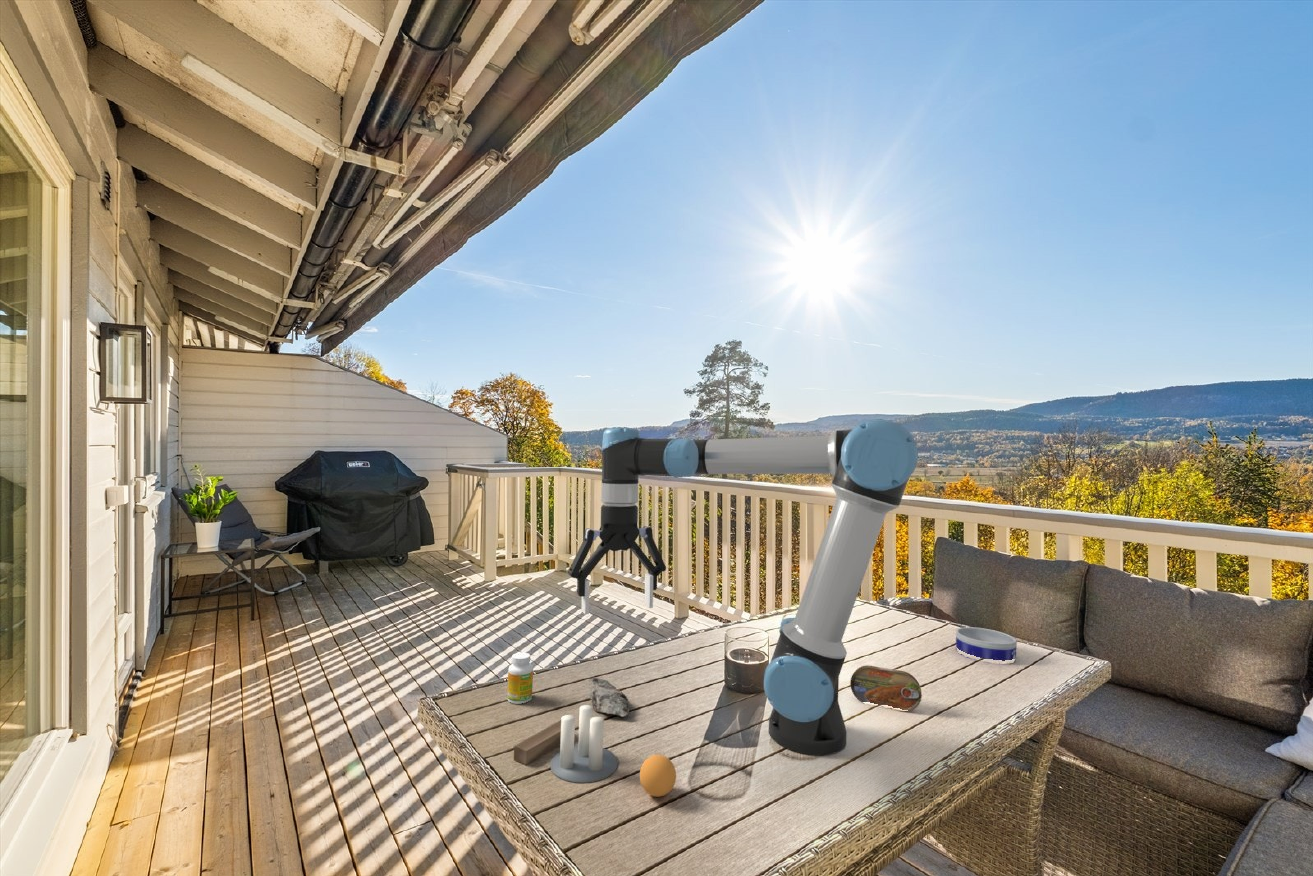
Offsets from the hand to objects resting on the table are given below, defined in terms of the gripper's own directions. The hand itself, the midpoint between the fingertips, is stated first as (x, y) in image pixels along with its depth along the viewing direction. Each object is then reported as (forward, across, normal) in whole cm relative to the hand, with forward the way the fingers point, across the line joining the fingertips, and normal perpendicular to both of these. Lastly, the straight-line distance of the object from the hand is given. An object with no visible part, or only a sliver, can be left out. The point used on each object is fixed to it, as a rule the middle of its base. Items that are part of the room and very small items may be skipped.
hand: (617, 609), depth 118 cm
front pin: (+24, +8, +12) cm, 28 cm away
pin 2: (+24, +8, +7) cm, 26 cm away
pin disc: (+24, +9, +10) cm, 28 cm away
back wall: (+24, +15, +2) cm, 28 cm away
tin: (+25, -62, +10) cm, 67 cm away
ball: (+21, +1, +23) cm, 31 cm away
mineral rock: (+24, -2, -10) cm, 27 cm away
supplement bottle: (+24, +16, -20) cm, 35 cm away
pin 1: (+24, +13, +10) cm, 29 cm away
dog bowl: (+26, -116, -6) cm, 119 cm away
